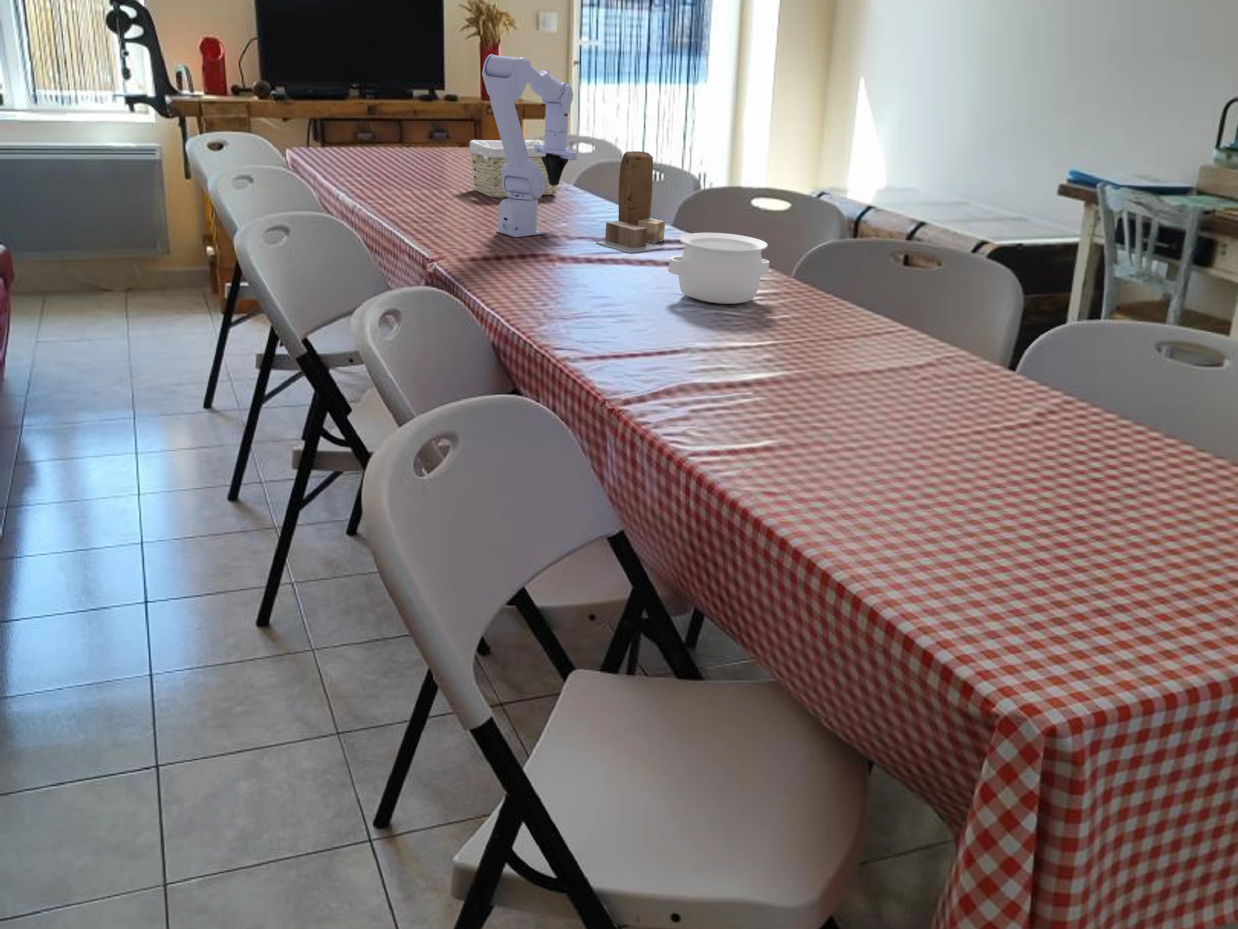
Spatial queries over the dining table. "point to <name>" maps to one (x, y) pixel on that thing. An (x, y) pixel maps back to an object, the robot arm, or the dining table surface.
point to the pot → (720, 267)
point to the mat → (631, 250)
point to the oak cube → (653, 229)
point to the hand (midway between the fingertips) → (553, 184)
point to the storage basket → (499, 166)
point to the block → (635, 187)
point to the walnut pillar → (626, 234)
